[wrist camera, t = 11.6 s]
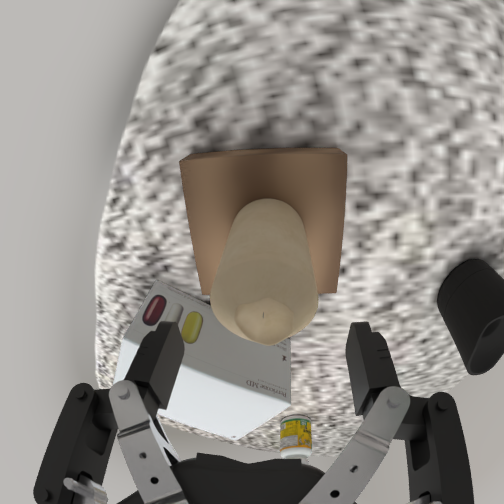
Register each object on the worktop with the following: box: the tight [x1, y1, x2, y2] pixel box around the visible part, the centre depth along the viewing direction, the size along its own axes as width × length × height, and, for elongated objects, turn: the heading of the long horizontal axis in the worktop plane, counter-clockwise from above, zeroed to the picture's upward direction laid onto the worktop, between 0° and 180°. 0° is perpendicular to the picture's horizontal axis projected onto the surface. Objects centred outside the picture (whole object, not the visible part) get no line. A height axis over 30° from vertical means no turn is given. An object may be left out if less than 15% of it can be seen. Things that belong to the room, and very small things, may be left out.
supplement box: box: [113, 280, 291, 440], centre depth 29 cm, size 17×13×9 cm
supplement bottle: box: [280, 415, 312, 465], centre depth 38 cm, size 5×5×10 cm
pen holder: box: [438, 259, 504, 375], centre depth 22 cm, size 9×9×10 cm
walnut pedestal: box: [179, 148, 347, 295], centre depth 23 cm, size 12×12×3 cm
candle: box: [210, 199, 318, 346], centre depth 17 cm, size 6×6×10 cm
